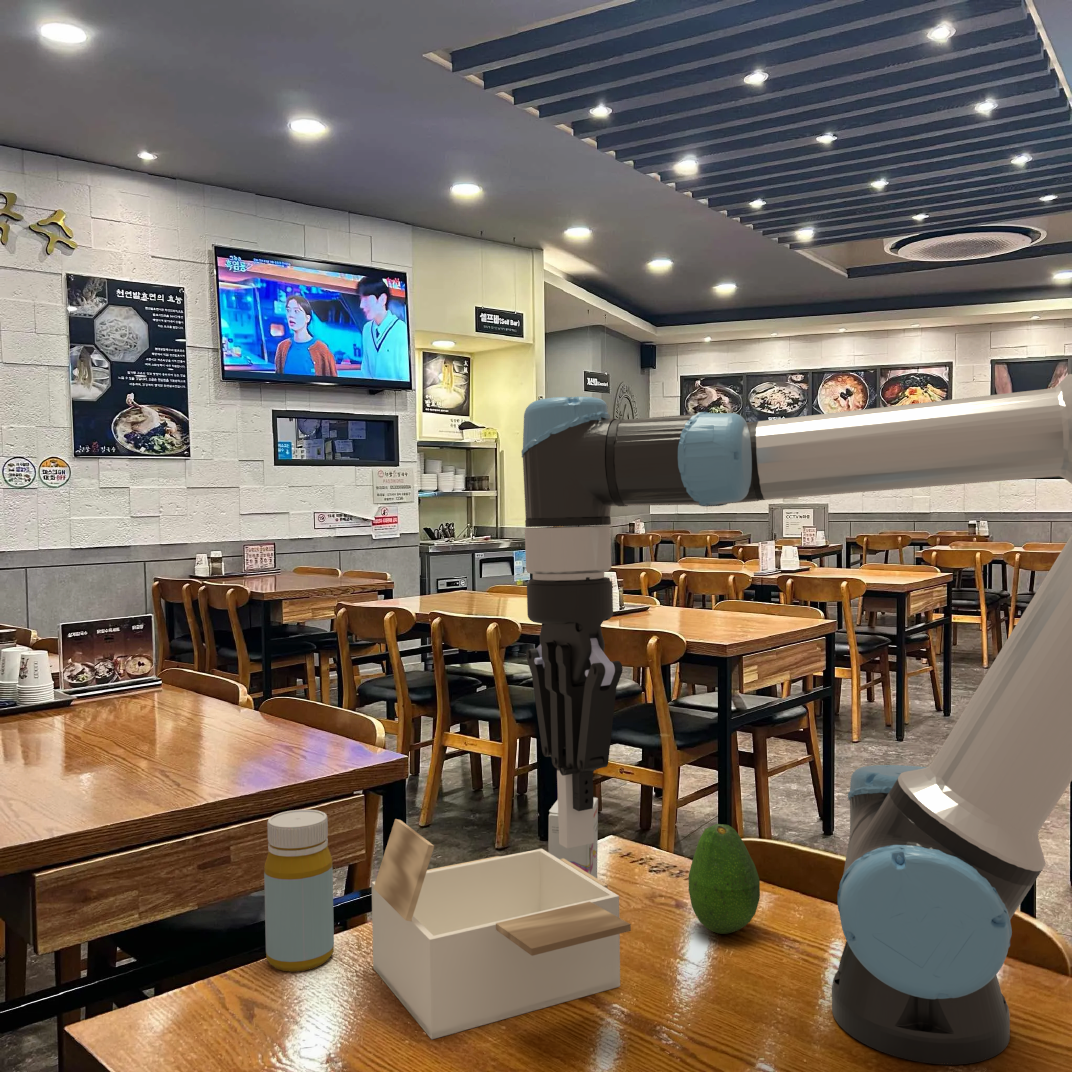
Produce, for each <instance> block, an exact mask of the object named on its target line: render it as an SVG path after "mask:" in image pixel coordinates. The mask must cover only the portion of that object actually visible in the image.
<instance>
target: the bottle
mask: <svg viewBox="0 0 1072 1072" xmlns="http://www.w3.org/2000/svg"><path fill="white" fill-rule="evenodd" d="M328 822H329V821H328V815H327V813H325V812H324V811H320V810H318V809H295V810H294V809H293V810H287V811H282V812H279V813H276V814H274V815H272V816H271V817H268V820H267V823H266V824H267V841H268V843H267V845H268V846H267V848H268V852H267V857H266V860H265V861H264V867H263V868H264V871H263V878H264V883H263V884H264V914H265V915H264V922H265V925H264V927H265V933H264V934H265V954H266V955H265V956H266V960H267V962H268V963H269V964H270V965H271V966H272V967H273V968H275V969H276V970H278V971H283V972H291V973H294V972H295V973H296V972H304V971H309V970H313V969H315V968H318V967H320V966H322V965H323V964H325V963H326V962H327V961H328V960H329V959H330V957H331V956H332V955H333V953H334V951H335V950H334V949H335V945H334V944H335V934H334V933H335V930H334V928H335V927H334V925H335V924H334V923H335V922H334V920H335V919H334V891H333V890H334V880H333V879H334V878H333V877H334V876H333V857H332V854H331V851H330V848H329V847H328V845H329V842H328V841H329V839H328V835H329V832H328V831H329V828H328V827H329V825H328Z"/></svg>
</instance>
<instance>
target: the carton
mask: <svg viewBox="0 0 1072 1072" xmlns="http://www.w3.org/2000/svg"><path fill="white" fill-rule="evenodd" d="M375 882H376V880H374V881H371V913H372V914H371V915H372V916H371V918H372V919H371V921H372V923H371V924H372V926H371V927H372V969H374V970H373V971H375V972H376V973H377V975H378V976H379V977H380V979H381V980H382V981H383V982H384V984H386V986H387V987H388V988H389V989H390V991H391V992H392V993H393V994H394V995H395V997H396V998H397V999H398V1000H399V1002H400V1003H401V1004H402V1005H403V1006H404V1008H405V1009H406V1010H407V1012H409V1014H410V1015H411V1016H412V1017H413V1019H414V1021H416V1022H417V1023H418V1025H419V1026H420V1027H421V1029H422V1030H423V1031H424V1032H425V1033H426V1034H427V1036H428V1037H429V1039H431V1040H435V1039H438V1038H442V1037H445V1036H449V1035H453V1034H456V1033H460V1032H462V1031H463V1032H464V1031H467V1030H470V1029H474V1028H478V1027H481V1026H484V1025H488V1024H492V1023H495V1022H499V1021H501V1020H502V1021H503V1020H505V1019H509V1018H513V1017H516V1016H517V1017H518V1016H520V1015H524V1014H527V1013H531V1012H535V1011H538V1010H540V1009H545V1008H549V1007H552V1006H557V1005H558V1004H563V1003H565V1002H569V1001H574V1000H577V999H581V998H584V997H587V996H591V995H594V994H598V993H601V992H605V991H609V990H613V989H615V988H619V987H621V947H620V946H621V943H620V942H621V941H620V940H621V939H620V938H621V935H620V934H621V933H620V934H616V935H612V936H609V937H605V938H601V939H597V940H593V941H589V942H585V943H581V944H577V945H573V946H569V947H565V948H561V949H557V950H553V951H549V952H545V953H541V954H537V955H533V956H531V955H530V954H529V953H527V952H526V951H525V950H523V949H522V948H520V947H519V946H518V945H516V944H515V943H513V942H512V941H511V940H509V939H508V938H507V937H505V936H504V935H502V934H501V933H500V932H498V931H497V930H496V923H499V922H503V921H508V920H512V919H516V918H521V917H525V916H529V915H534V914H538V913H542V912H547V911H551V910H556V909H560V908H564V907H569V906H573V905H577V904H582V903H586V902H592V903H593V904H595V905H597V906H599V907H601V908H602V909H604V910H606V911H608V912H610V913H611V914H613V915H615V916H617V917H619V918H620V895H619V894H616V893H615V892H614V891H612V890H610V889H608V884H607V883H605V882H604V881H602V880H601V879H599V878H598V877H597V878H595V877H594V876H592V875H590V874H589V873H587V872H585V871H584V870H582V869H581V868H579V867H577V866H576V865H574V864H572V863H571V862H569V861H567V860H566V859H564V858H563V859H558V858H556V857H555V856H553V855H551V854H550V853H548V851H547V850H545V849H543V848H537V849H532V850H528V851H523V852H517V853H512V854H507V855H502V856H499V855H496V856H491V857H487V858H481V859H476V860H471V861H466V862H461V863H455V864H450V865H445V866H440V867H435V868H431V869H427V872H426V875H425V878H424V881H423V885H422V888H421V891H420V894H419V898H418V901H417V904H416V908H415V911H414V914H413V917H412V921H406V920H405V919H404V918H403V917H402V916H401V915H400V914H399V913H398V912H397V911H396V910H395V909H394V908H393V907H392V906H391V905H390V904H389V903H388V902H387V901H386V900H385V899H384V898H383V897H382V896H381V895H380V894H379V893H378V892H377V891H376V890H375V889H374V885H375Z"/></svg>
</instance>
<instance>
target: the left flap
mask: <svg viewBox="0 0 1072 1072" xmlns="http://www.w3.org/2000/svg"><path fill="white" fill-rule="evenodd" d="M434 848H435V845H434V844H432V842H430V841H429V840H427V839H426V838H425V837H423V836H422V835H421V834H419V832H417V831H416V830H414V829H413V828H412V827H410V826H409V825H407V824H406V823H405V822H404V821H403V820H401V819H397V818H395V819H394V822H393V825H392V827H391V832H390V834H389V837H388V840H387V845H386V847H385V850H384V852H383V853H384V854H383V857H382V860H381V862H380V867H379V870H378V873H377V876H376V879H375V881H376V882H375V885H374V889H375V890H376V891H377V892H378V893H379V894H380V895H381V896H382V897H383V898H384V899H385V900H386V901H387V902H388V903H389V904H390V905H391V906H392V907H393V908H394V909H395V910H396V911H397V912H398V913H399V914H400V915H401V916H402V917H403V918H404V919H405V920H406V921H412V917H413V914H414V911H415V908H416V904H417V901H418V898H419V894H420V891H421V888H422V885H423V881H424V878H425V875H426V872H427V870H428V868H429V865H430V862H431V858H432V855H433V852H434Z"/></svg>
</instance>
